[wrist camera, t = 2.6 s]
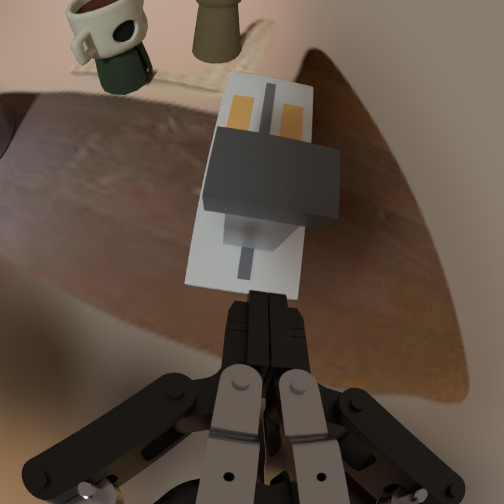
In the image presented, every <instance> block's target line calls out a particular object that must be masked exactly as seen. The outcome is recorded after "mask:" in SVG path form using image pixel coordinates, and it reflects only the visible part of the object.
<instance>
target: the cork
mask: <svg viewBox="0 0 504 504" xmlns="http://www.w3.org/2000/svg"><path fill="white" fill-rule="evenodd" d="M196 1H197V2H198V3H199V8H198V14H197V21H196V27H195V35H194V42H193V50H192V52H193V54H194V56H195V57H196V58H197V59H199V60H201V61H203V62H207V63H224V62H229V61H231V60H233V59H235V58H236V57H237V56H238V55H239V54H240V52H241V44H240V30H239V15H238V3H239V2H240V1H241V0H196Z"/></svg>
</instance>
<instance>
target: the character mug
mask: <svg viewBox="0 0 504 504" xmlns="http://www.w3.org/2000/svg"><path fill="white" fill-rule="evenodd" d="M143 3H144V1H143V0H73V1H72V2H71V3H70V4H69V5H68V6H67V10H66V16H67V18H68V21H69V23H70V26H71V28H72V31H73V33H74V35H75V38H74V40H73V41H72V43H71V48H72V51H73V53H74V55H75V57H76V59H77V61H78V63H80V64H81V65H82V66H83V65H85V64H86V63H88V62H89V61H90V59H91V58H93V59H95V62H96V67H97V71H98V76H99V79H100V83H101V86H102V87H103V89H104V91H105V92H108V93H111V94H118V95H126V94H129V93H131V92H134V91H137V90H138V89H140V88H141V87H142V86H144V85H145V84H146V83H147V82H148V81H147V78H146V75H145V74H146V71H147V68H148V69H149V72H150V74H151V76H152V65H151V62H150V59H149V56H148V54H147V52H146V50H145V47H144V45H143V43H142V40H143V39H144V38H145V36H146V32H147V29H148V24H147V18H146V15H145V13H144V11H143Z"/></svg>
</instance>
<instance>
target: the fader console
mask: <svg viewBox="0 0 504 504" xmlns="http://www.w3.org/2000/svg"><path fill="white" fill-rule="evenodd" d="M312 114H313V87H312V86H308V85H303V84H299V83H295V82H290V81H285V80H280V79H275V78H270V77H264V76H259V75H253V74H246V73H239V72H232V71H230V73H229V77H228V80H227V84H226V88H225V92H224V95H223V99H222V103H221V107H220V111H219V115H218V119H217V123H216V127H215V131H214V135H213V140H212V144H211V148H210V153H209V157H208V161H207V166H206V171H205V175H204V180H203V185H202V190H201V194H200V199H199V204H198V210H197V215H196V220H195V225H194V231H193V236H192V242H191V248H190V254H189V260H188V266H187V272H186V278H185V284H187V285H191V286H197V287H204V288H210V289H217V290H223V291H230V292H237V293H244V294H248V293H249V290H256V291H263V292H267V293H268V292H271V293H279V294H286V296H287V299H290V300H297V299H298V291H299V282H300V273H301V264H302V254H303V244H304V234H305V227H304V226H300V227H299V228H297V229H296V230H295V231H294V232H293V233H292V234H291V235H290V236H289V237H288V238H287V239H286V240H285V241H284V242H283V243H282V244H281V245H280V246H278V247H277V248H276V249H275V250H274V251H266V250H260V249H253V248H247V247H240V246H234V245H227V244H223V235H224V221H225V213H218V212H211V211H205V210H204V206H203V199H202V194H203V189H204V184H205V179H206V174H207V170H208V165H209V160H210V156H211V151H212V147H213V143H214V138H215V134H216V130H217V126H220V127H228V128H235V129H241V130H247V131H253V132H259V133H265V134H270V135H276V136H281V137H286V138H291V139H295V140H300V141H305V142H309V143H311V137H312Z"/></svg>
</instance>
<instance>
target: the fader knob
mask: <svg viewBox="0 0 504 504" xmlns="http://www.w3.org/2000/svg"><path fill="white" fill-rule="evenodd" d="M340 163H341V150H338V149H334V148H330V147H326V146H322V145H318V144H313V143H309V142H305V141H300V140H295V139H291V138H286V137H281V136H276V135H270V134H265V133H259V132H253V131H247V130H241V129H235V128H228V127H220V126H217V130H216V134H215V138H214V143H213V147H212V151H211V156H210V160H209V165H208V170H207V174H206V179H205V184H204V189H203V194H202V199H203V206H204V210H205V211H211V212H218V213H225V221H224V235H223V244H227V245H234V246H240V247H247V248H253V249H260V250H266V251H274V250H275V249H276V248H277V247H278V246H280V245H281V244H282V243H283V242H284V241H285V240H286V239H287V238H288V237H289V236H290V235H291V234H292V233H293V232H294V231H295V230H296V229H297V228H299V227H300V226H304V227H309V228H315V229H320V230H324V229H326V228H327V227H329V226H330V225H332V224H333V223H334V222H336V221H337V220H339V202H340Z"/></svg>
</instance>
